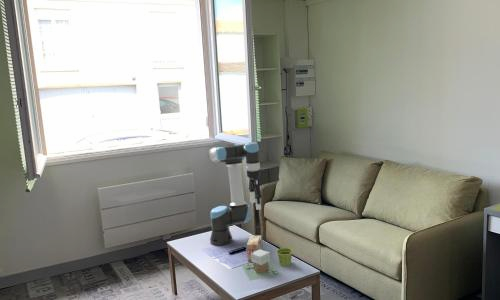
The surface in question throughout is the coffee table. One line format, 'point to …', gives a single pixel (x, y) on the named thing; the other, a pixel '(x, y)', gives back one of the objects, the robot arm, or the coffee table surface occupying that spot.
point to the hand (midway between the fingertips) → (255, 205)
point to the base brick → (261, 267)
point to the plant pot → (284, 256)
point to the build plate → (253, 275)
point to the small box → (260, 257)
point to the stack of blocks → (253, 245)
